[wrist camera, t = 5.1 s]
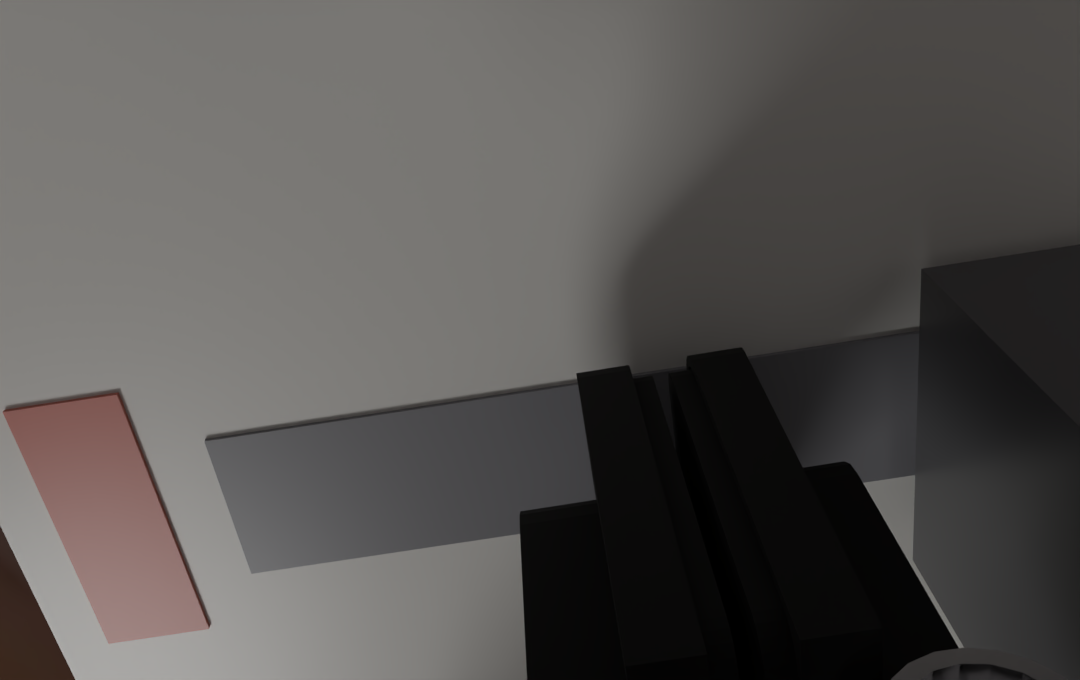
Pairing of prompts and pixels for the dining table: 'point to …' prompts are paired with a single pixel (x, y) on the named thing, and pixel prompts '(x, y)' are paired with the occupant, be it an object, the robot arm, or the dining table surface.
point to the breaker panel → (459, 285)
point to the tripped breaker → (1002, 452)
